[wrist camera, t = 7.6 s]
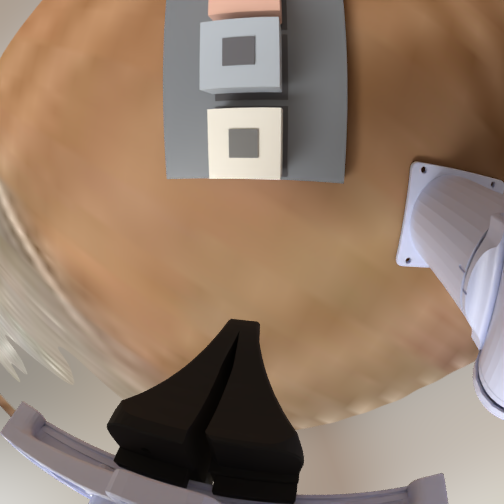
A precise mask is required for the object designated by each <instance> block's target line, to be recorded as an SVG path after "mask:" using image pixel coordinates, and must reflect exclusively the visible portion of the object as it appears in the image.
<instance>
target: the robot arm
mask: <svg viewBox="0 0 504 504" xmlns="http://www.w3.org/2000/svg"><path fill="white" fill-rule="evenodd" d="M422 167H425V172H423V173H422V172H421V168H422ZM492 182H493V185H492V186H491V183H492ZM503 193H504V182H503V181H501V180H498V179H495V178H491V177H487V176H483V175H479V174H475V173H471V172H467V171H463V170H458V169H454V168H449V167H444V166H439V165H434V164H429V163H423V162H417V161H416V162H413V163H412V164H411V167H410V175H409V184H408V192H407V199H406V206H405V212H404V218H403V224H402V230H401V235H400V240H399V246H398V250H397V255H396V262H397V264H398V265H400V266H411V267H430V268H431V269H432V271H433V272H434V273H435V275H436V276H437V277H438V279H439V280H440V281H441V283H442V284H443V285H444V287H445V288H446V290H447V291H448V292H449V294H450V295H451V297H452V298H453V300H454V301H455V302H456V304H457V305H458V307H459V308H460V310H461V311H462V313H463V314H464V316H465V317H466V319H467V321H468V322H469V324H470V326H471V327H472V335H471V337H472V339H473V341H474V342H475V344H476V346H477V347H478V349H479V350H480V351H479V353H478V356H477V358H476V361H475V365H474V368H473V384H474V388H475V391H476V394H477V396H478V398H479V400H480V401H481V403H482V404H483V405H484V407H485V408H486V409H487V410H488V411H489V412H490V413H492V414H493V415H495V416H496V417H498V418H500V419H502V420H504V194H503ZM407 258H410V259H409V261H406V259H407ZM259 336H260V324H259V323H258V322H255V321H245V320H236V319H230V320H229V321H228V322H227V323H226V325H225V326H224V327H223V329H222V330H221V331H220V332H219V334H218V335H217V336H216V337H215V338H214V339H213V340H212V341H211V343H210V344H209V345H208V346H207V347H206V348H205V349H204V350H203V351H202V352H201V353H200V354H199V355H198V356H197V357H196V358H194V359H193V360H192V361H191V362H190V363H189V364H188V365H186V366H185V367H184V368H182V369H181V370H180V371H178V372H177V373H176V374H174V375H173V376H171V377H170V378H168V379H167V380H165V381H163V382H162V383H160V384H158V385H156V386H154V387H153V388H151V389H149V390H147V391H145V392H143V393H140V394H138V395H135V396H133V397H130V398H128V399H125V400H122V401H121V403H120V404H119V405H118V407H117V408H116V410H115V411H114V413H113V415H112V417H111V418H110V420H109V422H108V424H107V429H108V431H109V433H110V434H111V436H112V437H113V438H114V440H115V441H116V442H117V443H118V445H119V446H120V448H119V450H118V452H117V454H116V456H115V455H113V454H110V453H108V452H106V451H103V450H101V449H99V448H97V447H94V446H92V445H90V444H88V443H86V442H84V441H82V440H80V439H78V438H76V437H74V436H72V435H70V434H68V433H67V432H65V431H63V430H61V429H59V428H57V427H56V426H54V425H52V424H51V423H49V422H47V421H46V420H45V418H44V417H43V416H42V415H41V413H40V412H38V411H37V410H36V409H34V408H33V407H31V406H30V405H28V404H27V403H25V402H22V403H21V404H20V405H19V407H18V408H17V409H16V411H15V412H14V414H13V415H12V416H11V418H10V419H9V421H8V422H7V424H6V425H5V427H4V428H3V429H2V431H1V432H0V433H1V435H2V436H3V437H4V438H5V439H6V440H7V441H8V442H9V443H10V444H11V445H12V446H13V447H15V448H16V449H17V450H18V451H19V452H20V453H21V454H22V455H23V456H25V457H26V458H27V459H28V460H30V461H31V462H32V463H34V464H35V465H36V466H38V467H39V468H41V469H42V470H44V471H45V472H46V473H48V474H49V475H51V476H52V477H54V478H56V479H57V480H58V481H60V482H61V483H63V484H65V485H66V486H68V487H70V488H71V489H73V490H75V491H76V492H78V493H80V494H81V495H83V496H85V497H87V498H89V499H90V501H89V503H88V504H448V498H447V491H446V485H445V479H444V474H443V473H440V474H436V475H432V476H428V477H424V478H420V479H417V480H414V481H413V482H411V483H410V484H409V485H408V486H405V487H400V488H394V489H388V490H381V491H373V492H365V493H353V494H335V495H296V492H297V484H298V481H299V473H300V471H301V468H302V466H303V463H304V456H303V450H302V447H301V444H300V440H299V437H298V434H297V432H296V431H295V429H294V428H293V426H292V425H291V423H290V422H289V420H288V419H287V417H286V415H285V414H284V412H283V410H282V408H281V406H280V404H279V402H278V400H277V398H276V396H275V394H274V392H273V390H272V387H271V385H270V382H269V379H268V377H267V374H266V370H265V367H264V363H263V359H262V355H261V349H260V343H259ZM213 482H214V484H213ZM212 484H213V485H212Z"/></svg>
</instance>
